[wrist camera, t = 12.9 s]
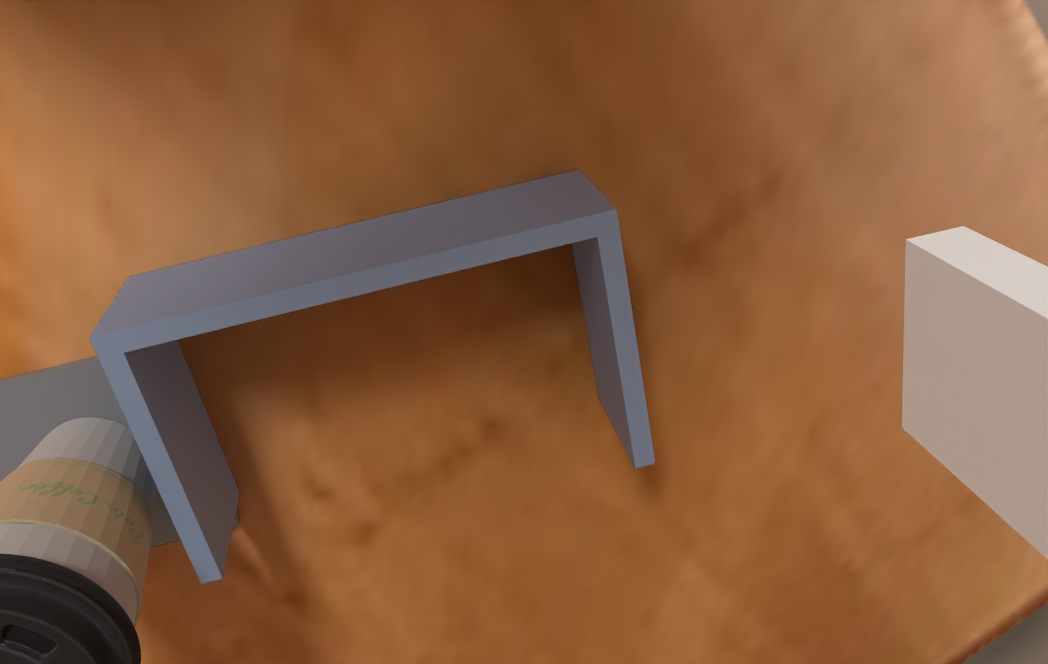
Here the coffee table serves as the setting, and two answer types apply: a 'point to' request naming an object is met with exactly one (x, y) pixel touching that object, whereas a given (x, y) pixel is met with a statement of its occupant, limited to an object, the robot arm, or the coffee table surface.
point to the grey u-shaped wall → (337, 273)
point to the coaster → (63, 418)
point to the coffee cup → (75, 547)
